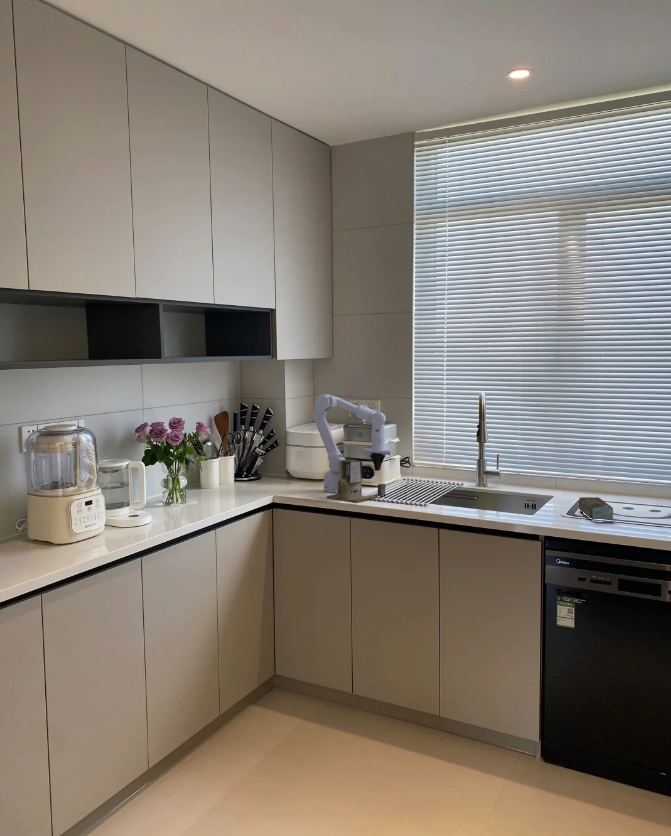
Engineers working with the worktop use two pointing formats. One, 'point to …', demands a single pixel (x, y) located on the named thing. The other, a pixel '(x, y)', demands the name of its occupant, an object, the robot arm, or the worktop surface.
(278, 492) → the worktop surface
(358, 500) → the brown board with post
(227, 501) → the worktop surface
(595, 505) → the beverage carton
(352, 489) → the coffee box
